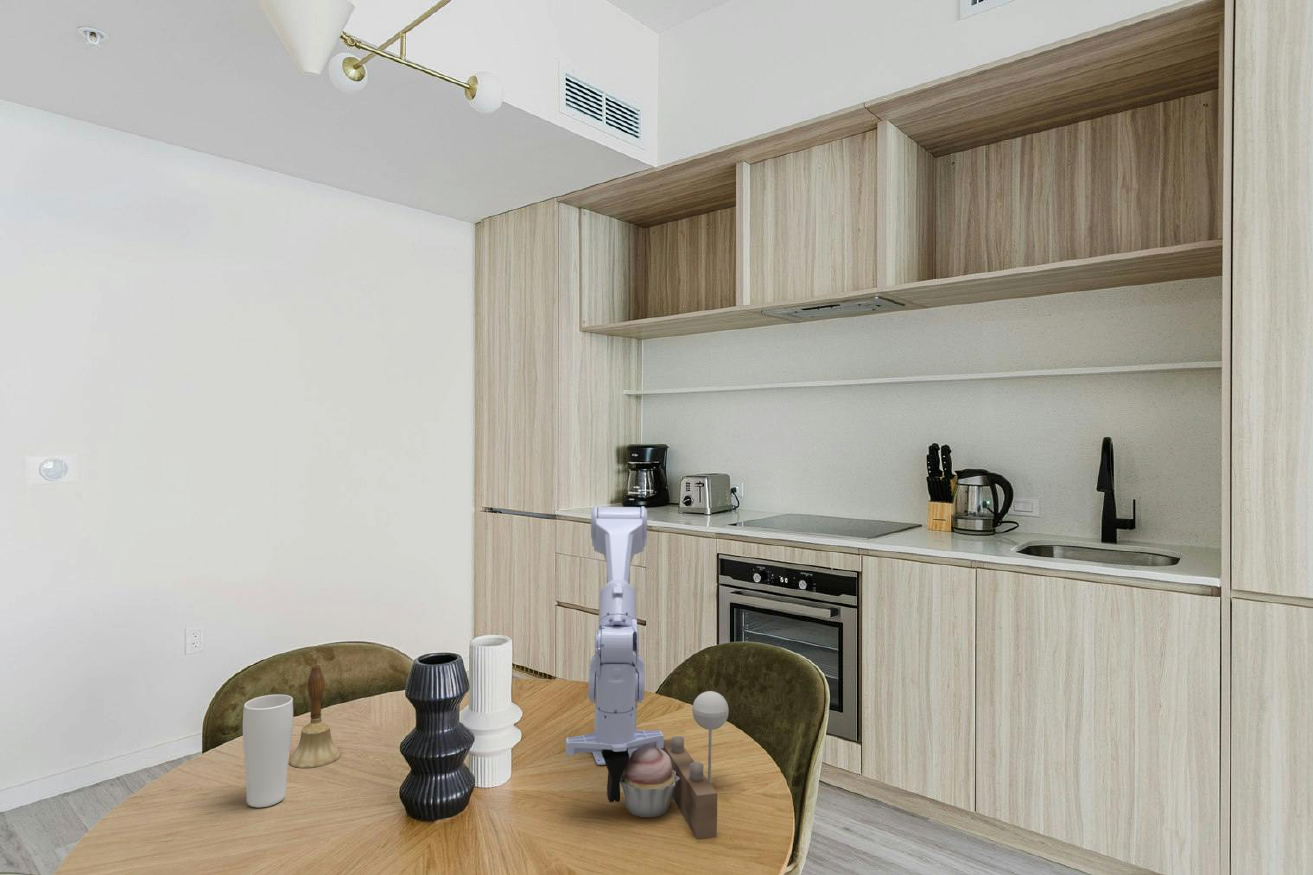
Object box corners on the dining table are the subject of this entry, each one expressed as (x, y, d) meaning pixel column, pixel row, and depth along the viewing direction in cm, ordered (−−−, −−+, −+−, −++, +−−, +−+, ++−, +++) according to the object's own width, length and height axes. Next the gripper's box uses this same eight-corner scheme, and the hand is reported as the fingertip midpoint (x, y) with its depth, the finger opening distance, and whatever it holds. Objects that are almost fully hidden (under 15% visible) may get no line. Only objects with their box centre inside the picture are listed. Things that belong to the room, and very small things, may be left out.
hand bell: (333, 767, 123) (335, 671, 123) (281, 769, 122) (283, 673, 122) (346, 747, 131) (348, 658, 131) (297, 749, 130) (299, 659, 130)
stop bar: (659, 776, 121) (660, 727, 121) (677, 774, 122) (678, 726, 122) (696, 838, 102) (697, 781, 102) (716, 836, 102) (717, 778, 103)
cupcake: (661, 789, 116) (663, 726, 117) (688, 816, 108) (690, 748, 108) (606, 799, 112) (608, 734, 112) (631, 828, 104) (633, 757, 104)
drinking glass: (301, 794, 113) (303, 697, 113) (264, 815, 106) (267, 711, 107) (267, 787, 115) (270, 691, 115) (229, 807, 109) (232, 705, 109)
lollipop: (725, 796, 114) (726, 699, 115) (688, 792, 116) (689, 696, 116) (729, 778, 120) (730, 687, 121) (694, 775, 122) (695, 684, 122)
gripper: (570, 719, 103) (568, 816, 103) (669, 712, 107) (667, 806, 107) (564, 703, 110) (562, 794, 110) (657, 697, 114) (656, 785, 113)
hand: (613, 799), depth 109 cm, fingers closed, pressing on cupcake
